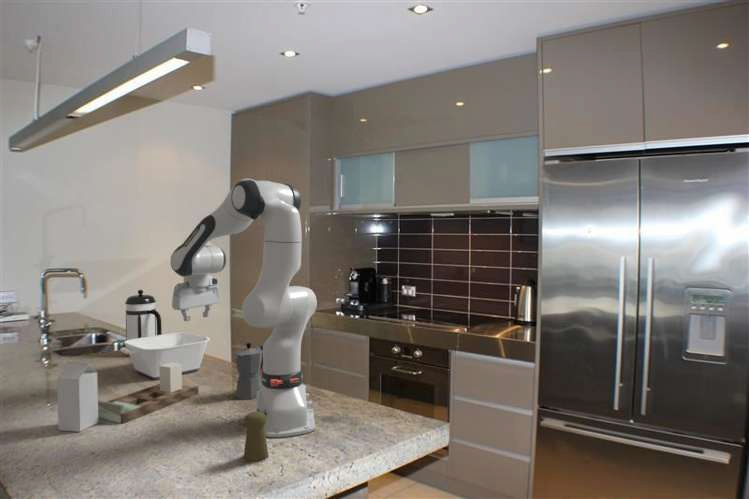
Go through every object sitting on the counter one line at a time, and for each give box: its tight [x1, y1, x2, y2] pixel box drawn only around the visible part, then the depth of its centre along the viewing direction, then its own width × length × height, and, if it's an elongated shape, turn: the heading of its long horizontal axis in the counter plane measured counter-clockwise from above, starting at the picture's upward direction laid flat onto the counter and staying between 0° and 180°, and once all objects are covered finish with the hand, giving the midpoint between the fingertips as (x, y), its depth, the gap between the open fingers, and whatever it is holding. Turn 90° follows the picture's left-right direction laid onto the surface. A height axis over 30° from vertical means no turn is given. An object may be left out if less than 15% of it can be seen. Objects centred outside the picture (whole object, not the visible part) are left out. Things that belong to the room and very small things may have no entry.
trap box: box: [98, 383, 199, 424], centre depth 165 cm, size 30×15×5 cm, turn 155°
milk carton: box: [56, 360, 99, 433], centre depth 146 cm, size 7×7×19 cm
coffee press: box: [123, 289, 163, 357], centre depth 234 cm, size 17×16×30 cm
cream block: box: [159, 363, 183, 393], centre depth 174 cm, size 5×5×8 cm
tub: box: [119, 331, 211, 381], centre depth 204 cm, size 34×27×13 cm
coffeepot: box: [234, 342, 264, 400], centre depth 174 cm, size 15×9×18 cm, turn 157°
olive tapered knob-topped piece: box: [243, 411, 269, 463], centre depth 125 cm, size 6×6×11 cm
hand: (196, 319), depth 185 cm, fingers open, 8 cm apart
